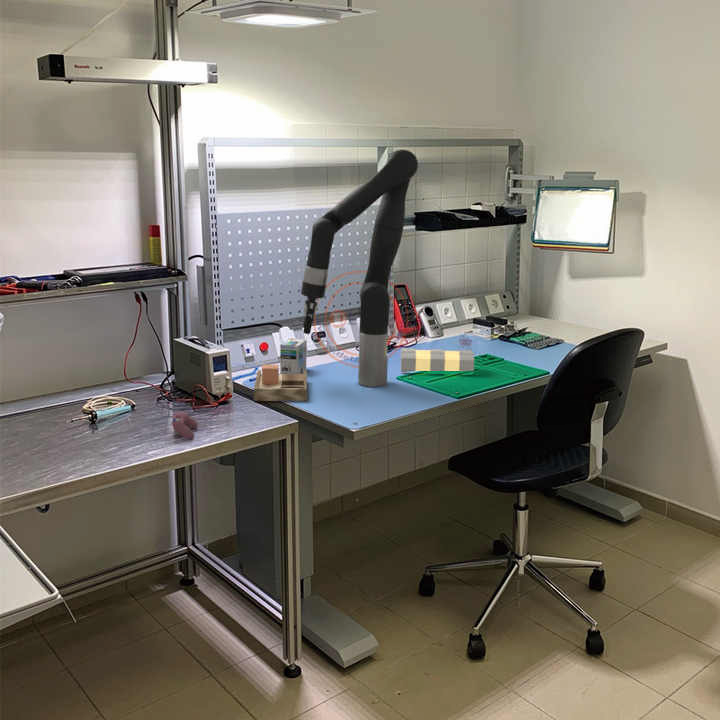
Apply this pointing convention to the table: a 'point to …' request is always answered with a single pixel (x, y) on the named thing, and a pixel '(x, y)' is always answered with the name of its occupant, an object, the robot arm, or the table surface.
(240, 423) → the table surface
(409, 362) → the gray yellow striped block
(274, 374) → the block
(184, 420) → the video game controller
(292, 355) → the light bulb box
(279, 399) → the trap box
